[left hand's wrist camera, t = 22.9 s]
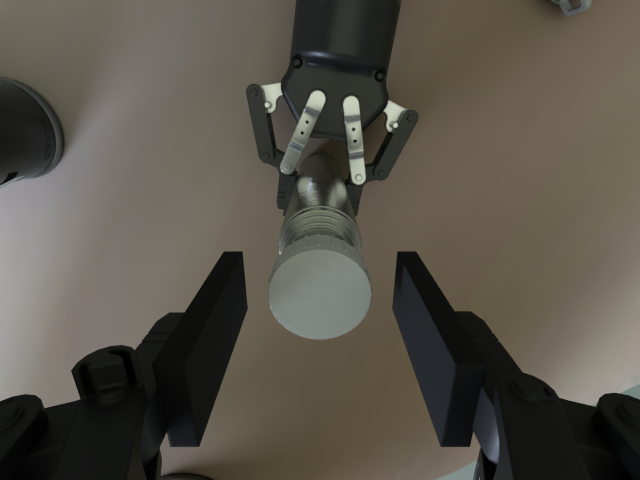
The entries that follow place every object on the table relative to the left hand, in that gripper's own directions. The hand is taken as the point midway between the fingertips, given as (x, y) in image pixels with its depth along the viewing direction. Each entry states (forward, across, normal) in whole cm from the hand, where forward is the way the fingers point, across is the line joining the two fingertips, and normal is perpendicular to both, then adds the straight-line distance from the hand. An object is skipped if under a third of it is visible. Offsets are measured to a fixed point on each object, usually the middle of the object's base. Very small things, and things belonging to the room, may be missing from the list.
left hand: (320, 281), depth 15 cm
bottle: (+23, 0, 0) cm, 23 cm away
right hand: (+17, 0, -3) cm, 17 cm away
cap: (-1, 0, 0) cm, 1 cm away
